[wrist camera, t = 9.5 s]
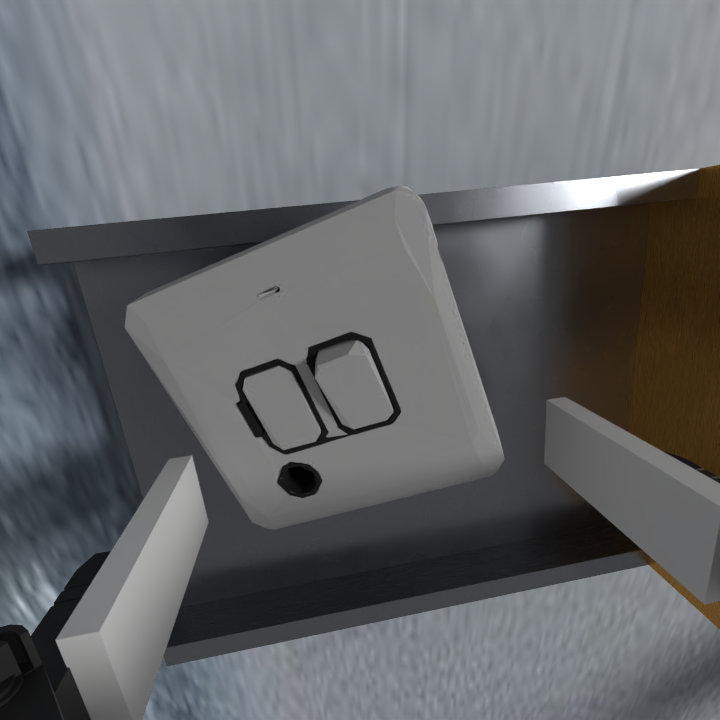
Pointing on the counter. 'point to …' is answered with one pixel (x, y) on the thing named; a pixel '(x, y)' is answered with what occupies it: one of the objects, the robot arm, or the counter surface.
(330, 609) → the drawer
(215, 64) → the counter surface
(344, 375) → the electrical switch
